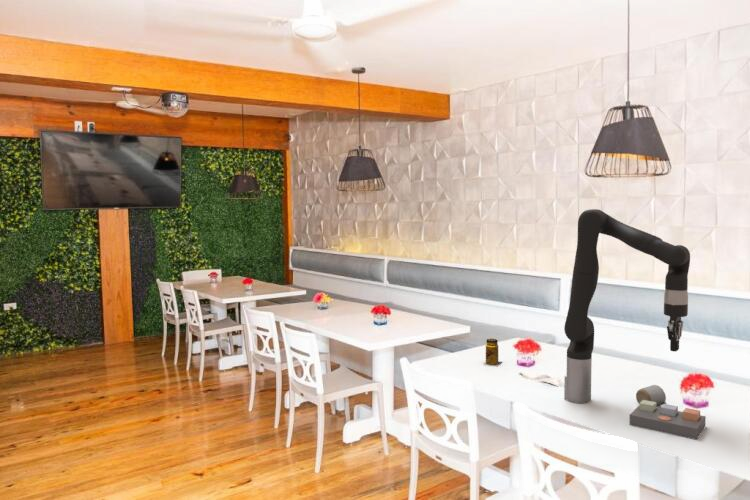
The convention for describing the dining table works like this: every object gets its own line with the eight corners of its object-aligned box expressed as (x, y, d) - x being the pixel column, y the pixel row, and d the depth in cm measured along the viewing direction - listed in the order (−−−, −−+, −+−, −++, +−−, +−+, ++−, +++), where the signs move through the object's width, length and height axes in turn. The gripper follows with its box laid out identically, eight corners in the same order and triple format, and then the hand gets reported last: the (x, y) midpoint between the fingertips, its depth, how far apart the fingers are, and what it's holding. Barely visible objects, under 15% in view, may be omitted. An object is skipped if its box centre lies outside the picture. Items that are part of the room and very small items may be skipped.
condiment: (482, 364, 283) (483, 340, 282) (488, 360, 290) (488, 336, 289) (497, 366, 279) (497, 341, 278) (502, 362, 287) (502, 338, 286)
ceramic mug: (633, 404, 225) (634, 385, 224) (649, 401, 228) (650, 382, 227) (657, 414, 215) (657, 393, 214) (672, 410, 218) (673, 390, 218)
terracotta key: (682, 420, 200) (682, 411, 200) (685, 416, 204) (685, 407, 204) (697, 423, 197) (697, 414, 197) (700, 419, 201) (700, 410, 201)
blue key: (660, 416, 205) (660, 407, 204) (663, 412, 208) (663, 403, 208) (674, 419, 202) (674, 409, 202) (677, 415, 205) (677, 406, 205)
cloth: (579, 387, 249) (579, 381, 249) (555, 392, 243) (555, 387, 242) (535, 371, 272) (535, 367, 272) (512, 376, 266) (512, 371, 265)
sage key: (639, 411, 209) (639, 403, 209) (642, 408, 213) (643, 399, 212) (652, 414, 206) (653, 405, 206) (656, 410, 210) (656, 402, 210)
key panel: (629, 424, 205) (629, 413, 204) (640, 413, 215) (641, 402, 215) (696, 439, 191) (697, 427, 191) (705, 426, 202) (705, 415, 202)
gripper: (669, 298, 214) (667, 345, 215) (659, 303, 203) (658, 352, 205) (691, 300, 209) (690, 348, 210) (683, 305, 198) (681, 356, 200)
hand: (674, 350), depth 208 cm, fingers closed
